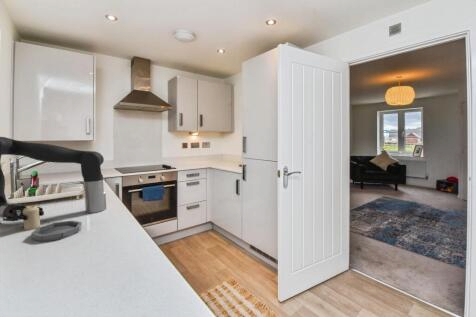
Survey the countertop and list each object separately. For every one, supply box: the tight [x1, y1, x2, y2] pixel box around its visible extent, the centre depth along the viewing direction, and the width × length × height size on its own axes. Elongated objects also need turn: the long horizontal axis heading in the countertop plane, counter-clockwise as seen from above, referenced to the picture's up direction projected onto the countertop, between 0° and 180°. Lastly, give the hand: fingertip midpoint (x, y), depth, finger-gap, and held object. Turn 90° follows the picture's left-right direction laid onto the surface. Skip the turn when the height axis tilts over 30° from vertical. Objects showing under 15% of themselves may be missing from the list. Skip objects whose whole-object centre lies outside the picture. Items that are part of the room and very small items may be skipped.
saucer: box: [30, 220, 83, 242], centre depth 100 cm, size 16×16×2 cm
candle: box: [22, 205, 41, 231], centre depth 106 cm, size 6×6×10 cm
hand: (34, 215), depth 105 cm, fingers closed on candle, 5 cm apart
